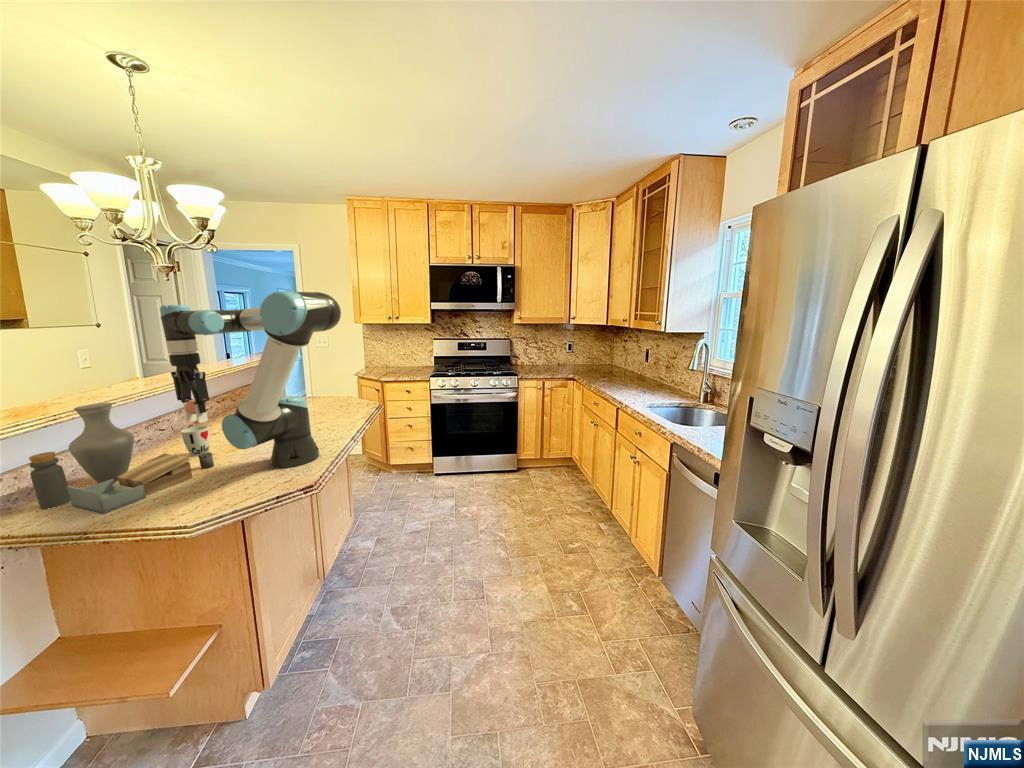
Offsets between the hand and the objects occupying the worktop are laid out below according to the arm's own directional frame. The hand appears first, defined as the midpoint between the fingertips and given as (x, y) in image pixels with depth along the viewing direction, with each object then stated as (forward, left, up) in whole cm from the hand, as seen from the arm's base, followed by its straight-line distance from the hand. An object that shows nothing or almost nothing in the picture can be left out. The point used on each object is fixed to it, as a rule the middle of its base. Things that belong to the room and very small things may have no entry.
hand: (197, 421), depth 129 cm
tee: (0, 0, -17) cm, 17 cm away
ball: (0, 0, +3) cm, 3 cm away
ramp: (+1, +14, -17) cm, 22 cm away
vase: (+21, +16, -17) cm, 31 cm away
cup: (+17, -8, -17) cm, 25 cm away
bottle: (+15, +31, -17) cm, 38 cm away
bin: (+1, +25, -17) cm, 30 cm away
